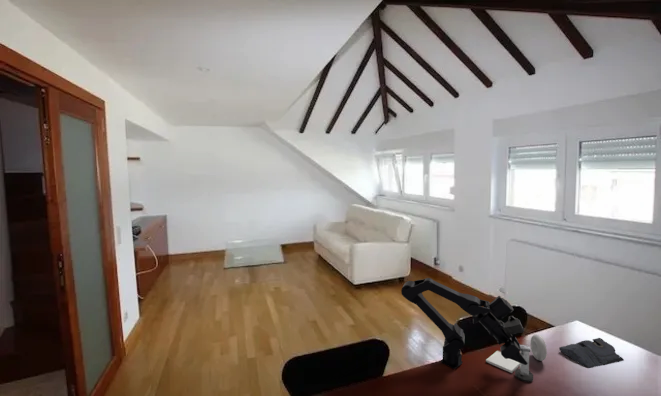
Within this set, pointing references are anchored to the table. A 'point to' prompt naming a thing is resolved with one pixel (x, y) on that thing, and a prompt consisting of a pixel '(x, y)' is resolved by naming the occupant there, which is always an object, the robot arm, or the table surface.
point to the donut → (538, 347)
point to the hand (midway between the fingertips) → (524, 357)
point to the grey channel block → (524, 366)
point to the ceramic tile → (503, 362)
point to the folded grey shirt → (592, 353)
